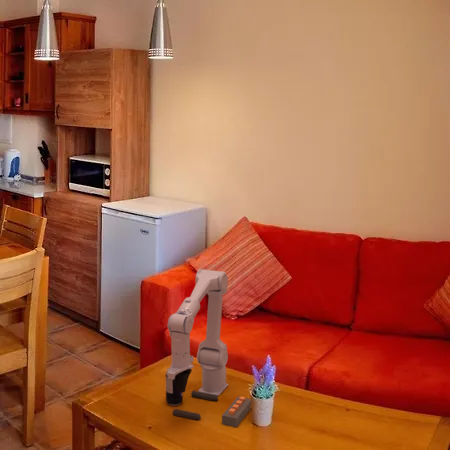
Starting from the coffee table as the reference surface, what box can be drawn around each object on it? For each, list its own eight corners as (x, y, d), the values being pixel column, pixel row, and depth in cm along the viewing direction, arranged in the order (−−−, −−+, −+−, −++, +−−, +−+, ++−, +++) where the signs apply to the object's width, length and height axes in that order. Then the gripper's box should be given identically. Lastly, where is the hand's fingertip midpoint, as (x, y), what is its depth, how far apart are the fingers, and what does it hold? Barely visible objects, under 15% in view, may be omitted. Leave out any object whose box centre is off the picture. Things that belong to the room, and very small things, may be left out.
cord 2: (192, 394, 216) (192, 389, 215) (218, 400, 212) (218, 394, 212) (190, 397, 214) (190, 392, 214) (216, 402, 210) (216, 397, 210)
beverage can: (180, 407, 206) (179, 374, 204) (164, 406, 208) (163, 372, 205) (184, 399, 212) (184, 367, 210) (168, 398, 213) (168, 365, 211)
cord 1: (174, 413, 203) (174, 407, 203) (201, 418, 199) (201, 413, 199) (171, 415, 201) (171, 410, 201) (199, 421, 198) (199, 415, 197)
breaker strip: (237, 404, 208) (238, 393, 208) (251, 407, 206) (251, 395, 206) (221, 424, 196) (221, 412, 195) (236, 427, 194) (236, 415, 193)
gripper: (182, 361, 185) (182, 403, 187) (201, 344, 198) (202, 383, 200) (161, 358, 187) (162, 399, 190) (182, 341, 200) (182, 380, 203)
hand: (181, 391), depth 195 cm, fingers closed
